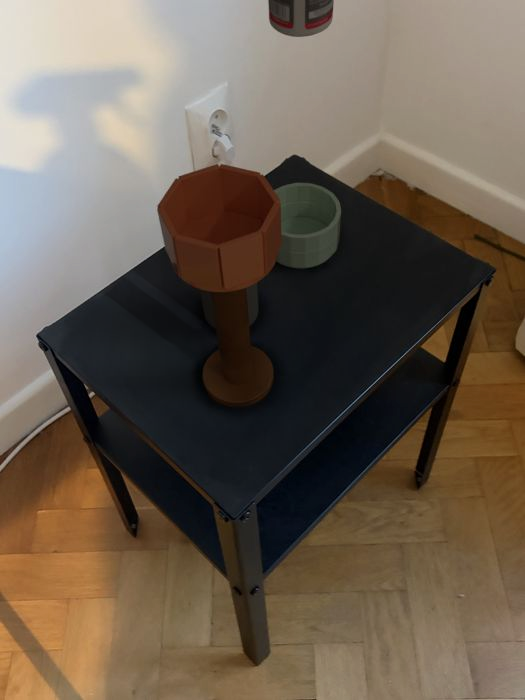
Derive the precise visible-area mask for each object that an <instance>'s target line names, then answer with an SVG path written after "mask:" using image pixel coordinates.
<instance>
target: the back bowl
mask: <svg viewBox="0 0 525 700" xmlns="http://www.w3.org/2000/svg"><path fill="white" fill-rule="evenodd" d="M273 190H274V192H275V193H276V194H277V196H278V197H279V199H280V200H281V237H282V245H281V247H280V249H279V251H278V256H277V260H276V262H277V263H278V264H279V265H282V266H284V267H287V268H292V269H309V268H314V267H317V266H319V265H322V264H323V263H326V262H327V261H328V260H329V259H331V257H332V256H333V255H334V254H335V252H337V250H338V246H339V243H340V234H341V222H342V221H341V219H342V209H341V202H340V201H339V199H338V197H336V195H335V194H334V193H333V192H332V191H331V190H329V189H327V188H325V187H324V186H322V185H319V184H314V183H311V182H293V183H287V184H284V185H282V186H280V187H277V188H275V189H273ZM276 262H275V263H276Z"/></svg>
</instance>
